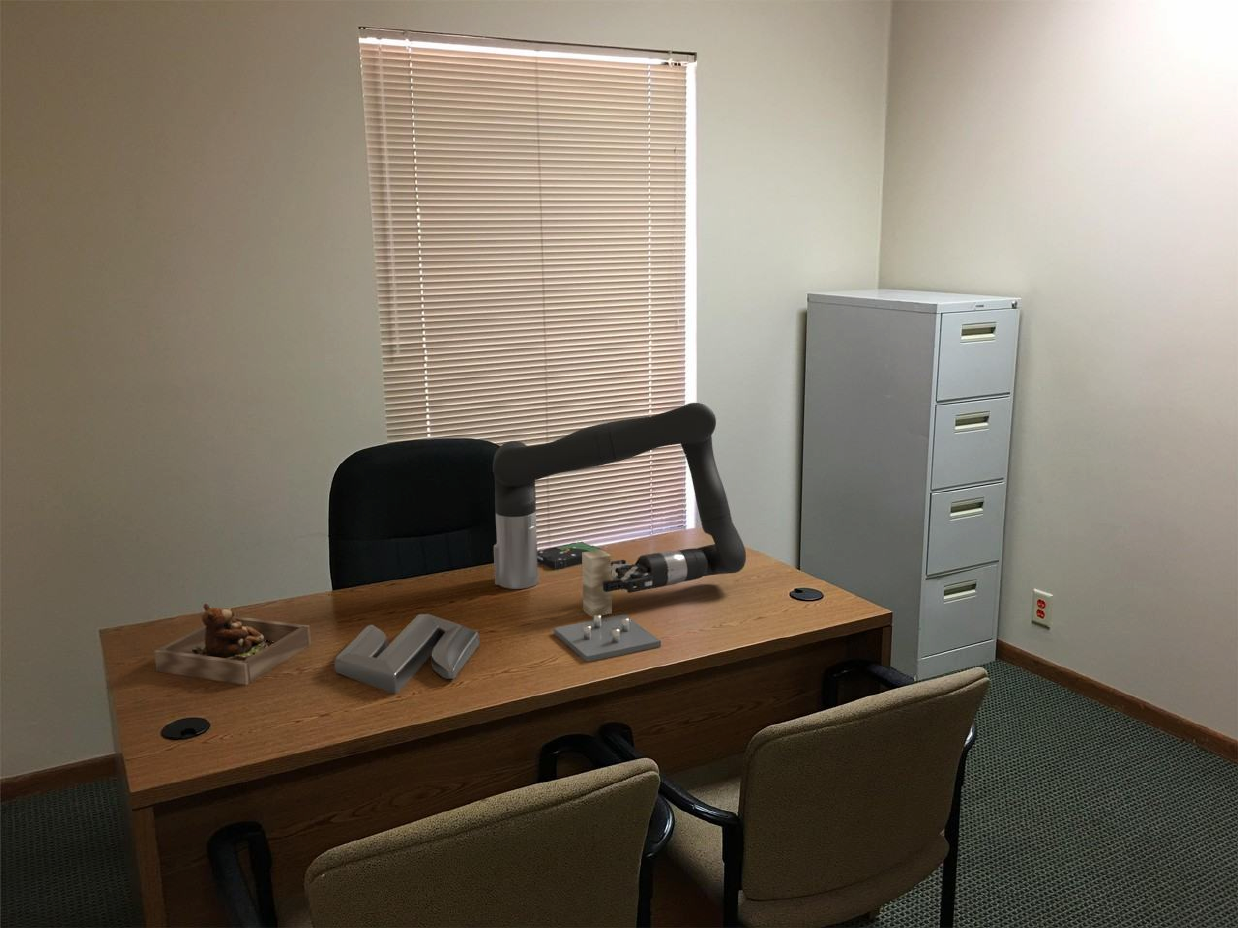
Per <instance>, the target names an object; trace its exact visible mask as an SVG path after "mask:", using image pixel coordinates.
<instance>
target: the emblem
mask: <svg viewBox="0 0 1238 928" xmlns="http://www.w3.org/2000/svg"><path fill="white" fill-rule="evenodd" d="M479 645H480V634H479V632H478V631H477V630H475V629H471V628H468V627H466V626H465V625H462V624H459V623H456V622H453V621H451V620H447V619H444V618H441V617H438V616H436V615H432V614H429V613H425V614H422V613H419V614H417V615H416V616H415V617H414V619H413V620H411V621H410V623H408V625H407V626H406V627H404V629H403V630H402V631H401V632H400V633H399V634H398V635H397V636H396V637H395V638H394V639H393V640H392V641H391V642H390V643H389V644H388V639H387V636H386V634H385V633H384V631H383V630H382V629H380V628H378V627H377V626H375V625H374V624H370V625H367V626H366V627H364V628H363V629H362V631H361V632H360V633H359V634H357V636H356V637H355V638H354V639H353V640H352V641H351V642H350V643H349V644H348V645H347V646H346V647H345V648H344V649H343V650H342V651H341V652H340V653H339V654H337V656H336V657H335V658H334V669H335V672H336V673H337V674H339V675H342V676H344V677H346V678H350V679H351V680H355V681H357V682H359V683H362V684H364V685H366V686H368V687H369V686H370V687H373V688H374V689H378V690H381V691H384V692H387V693H390V694H394V695H397V694H398V693H400V691H402V689H403V688H404V687H405V686H406V684H407V683H408V682H409V681H410V680H411V679H412V678H413V676H414V675H416V673H417V672H418V671H419V670H420V669H421V668H422V666H423V665H424V664H425V663H426V661H427V660H429V658H430V659H431V660H430V661H431V666H432V669H433V670H434V671H435V672H436V673H437V674H438V675H440V677H442V678H444V679H447V680H448V679H455V678H456V677H457V675H458V673H459V672H460V671H461V669H462V668H463V667H464V666H465V664H466V663H467V662H468V660H469V659H470V657H472V656H473V654H474V652H475V650H476V649H477V648H478V647H479Z"/></svg>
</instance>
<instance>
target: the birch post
mask: <svg viewBox="0 0 1238 928" xmlns="http://www.w3.org/2000/svg"><path fill="white" fill-rule="evenodd" d="M603 550H604V549H602V550H596V551H590V552H584V553H582V564H581V565H582V568H581V569H582V572H581V573H582V603H583V604H582V606H583V607H582V608H583V611H584V612H585V613H586V614H587V615H589V617H591V618H594V615H596V614H600V615H601V616H605V615H610V614H612V610H613V606H612V604H613V603H612V600H613V599H612V591H610V592H605V591H603V582H604V581H609V580H612V578H611V561H612V555H611V554H609V553H607V552H606V551H605V550H604V551H603Z"/></svg>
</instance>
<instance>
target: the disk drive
mask: <svg viewBox="0 0 1238 928" xmlns="http://www.w3.org/2000/svg"><path fill="white" fill-rule="evenodd" d="M596 550H603V551H605V550H604V549H602V548H600V547H597V546H596V545H594V544H593V545H590V544H588V543H585V542H584V541H577V542H572V543H569V544H568V543H567V544H563V545H557V546H553V547H550V548H545V549H540V550H537V560H538V563H539V564H541V565H542V566H543V565H544V566H545V567H548V568H549V569H552V570H555V571H559V570H564V569H566V568H570V567H575V566H578V565H582V553H584V552H590V551H596Z"/></svg>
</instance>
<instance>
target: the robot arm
mask: <svg viewBox="0 0 1238 928" xmlns="http://www.w3.org/2000/svg"><path fill="white" fill-rule="evenodd" d="M716 425H717V419H716V414H715V412H714V410H712V409H711V408H710V407H709V406H707V405H706V404H703V403H701V402H691V403H687V404H684V405H682V406H679V407H677V408H673V409H671V410H668V411H665V412H662V413H658V414H654V415H650V416H644V417H643V416H642V417H633V418H627V419H620V420H615V421H614V420H613V421H609V422H603V423H600V424H599V423H598V424H596V425H595V424H594V425H590V426H588V427H584V428H581V429H578V430H577V431H573V432H572V433H570V434H569V433H568V434H567V435H565V436H563V437H561V438H559V439H556V440H553V441H550V442H547V443H541V444H535V445H529V446H528V445H527V444H525V443H524V442H522V441H517V440H510V441H506V442H504V443H503V444H501V445H500V446H499V447H498V448H497V450H496V452H495V454H494V457H493V461H492V471H493V474H494V486H495V487H494V489H495V490H494V491H495V492H494V493H495V494H494V501H495V502H494V504H495V506H494V507H495V526H496V529H495V531H496V543H495V544H494V545H493V559H494V561H493V565H494V584H495V585H496V586H500V587H502V588H505V589H510V590H520V589H521V590H522V589H527V588H531V587H534V586H536V585H537V584H539V569H538V567H539V566H538V565H539V564H538V563H539V562H538V560H537V551H538V541H537V539H538V536H537V534H538V533H537V532H538V531H537V512H536V511H537V507H536V505H537V504H536V501H537V499H536V495H537V494H536V481H537V480H540V479H543V478H547V477H549V476H553V475H557V474H562V473H565V472H566V473H567V472H572V471H578V470H579V471H580V470H584V469H585V470H586V469H588V468H589V469H590V468H594V467H595V468H596V467H600V466H604V465H610V464H613V463H617V462H621V461H625V460H629V459H631V458H634V457H637V456H639V455H642V454H644V453H647V452H650V451H653V450H656V449H658V448H662V447H663V448H664V447H666V446H667V447H669V446H675V445H681V449H682V451H683V453H684V455H685V459H686V463H687V465H688V469H689V473H690V477H691V481H692V482H691V483H692V486H693V491H694V496H695V501H696V505H697V511H698V515H699V520H700V523H701V527H702V530H703V533H705V534H707V535H709V536H710V537H711V538H712V540H713V542H714V544H709V545H705V546H704V545H703V546H701V547H698V548H696V547H694V548H685V549H679V550H667V551H659V552H655V553H649V554H642V555H640V556H639V557H638V558H637V560H636V562H635V563H634V564H633V563H631V562H629V563H627V561H626V560H625V559H620V560H611V580H609V581H604V582H603V591H605V592H610V591H611V592H615V591H619V590H620V591H623V592H625V591H627V594H628V593H629V594H632V593H636V592H640V591H646V590H652V589H657V588H663V587H668V586H673V585H677V584H679V583H680V584H681V583H684V582H690V581H693V580H694V581H695V580H699V579H701V578H703V577H709V576H716V575H723V574H724V575H727V574H735V573H738V572H740V571H742V570H743V569H744V567H745V564H746V562H747V552H746V548H745V545H744V543H743V540H742V538H741V536H740V534H739V532H738V530H737V527H736V525H734V524H735V523H733V518H732V514H731V509H730V505H729V501H728V497H727V494H726V491H725V488H724V484H723V482H722V480H721V477H720V474H719V471H718V468H717V464H716V460H715V454H714V449H713V438H712V435H713V433H714V432H715V430H716Z"/></svg>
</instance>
